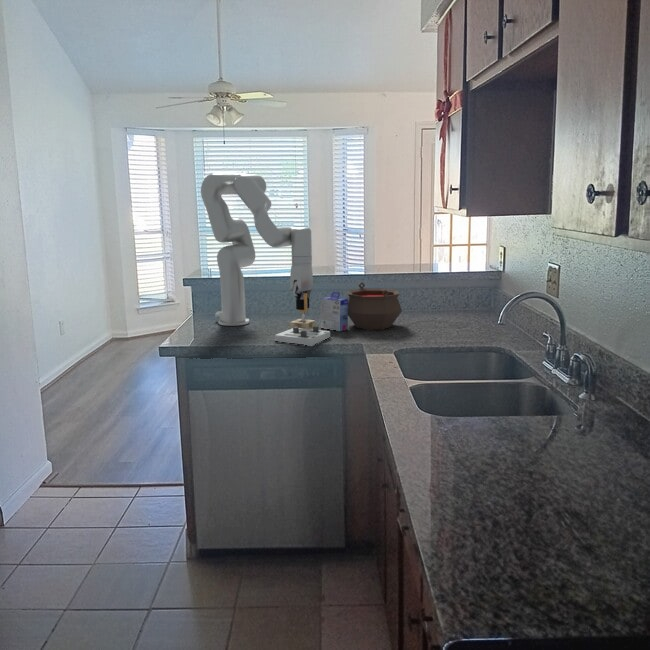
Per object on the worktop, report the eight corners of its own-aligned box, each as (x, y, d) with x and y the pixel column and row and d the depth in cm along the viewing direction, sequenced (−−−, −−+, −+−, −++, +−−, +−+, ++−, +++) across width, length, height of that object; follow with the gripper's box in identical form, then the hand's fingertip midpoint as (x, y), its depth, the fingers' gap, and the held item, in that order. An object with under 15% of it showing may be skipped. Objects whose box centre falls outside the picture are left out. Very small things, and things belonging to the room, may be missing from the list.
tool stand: (290, 332, 250) (290, 322, 249) (299, 328, 256) (299, 318, 255) (306, 334, 247) (306, 323, 246) (315, 330, 253) (315, 320, 252)
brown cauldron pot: (414, 329, 254) (415, 287, 250) (357, 335, 245) (357, 291, 242) (386, 318, 276) (386, 279, 272) (333, 322, 267) (333, 283, 263)
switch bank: (275, 341, 235) (274, 334, 235) (295, 333, 247) (294, 327, 247) (311, 346, 228) (311, 338, 228) (330, 338, 240) (330, 330, 240)
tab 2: (297, 338, 232) (297, 331, 232) (300, 337, 234) (300, 330, 233) (307, 340, 231) (307, 332, 230) (310, 338, 232) (310, 331, 232)
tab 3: (309, 333, 240) (309, 326, 240) (312, 332, 242) (312, 325, 241) (319, 334, 238) (319, 327, 238) (321, 333, 240) (321, 326, 239)
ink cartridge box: (348, 329, 254) (348, 292, 251) (340, 332, 250) (340, 294, 247) (328, 326, 260) (328, 290, 257) (320, 328, 256) (319, 292, 253)
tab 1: (289, 334, 239) (289, 327, 238) (292, 333, 241) (292, 326, 240) (299, 335, 237) (299, 328, 237) (302, 334, 239) (302, 327, 238)
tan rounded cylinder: (297, 324, 250) (297, 293, 248) (302, 323, 253) (301, 292, 250) (305, 325, 249) (304, 294, 246) (309, 323, 251) (308, 292, 249)
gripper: (304, 258, 255) (305, 304, 258) (281, 262, 240) (283, 311, 244) (321, 258, 251) (321, 306, 255) (299, 263, 237) (300, 313, 241)
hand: (302, 308), depth 249 cm, fingers closed on tan rounded cylinder, 3 cm apart
